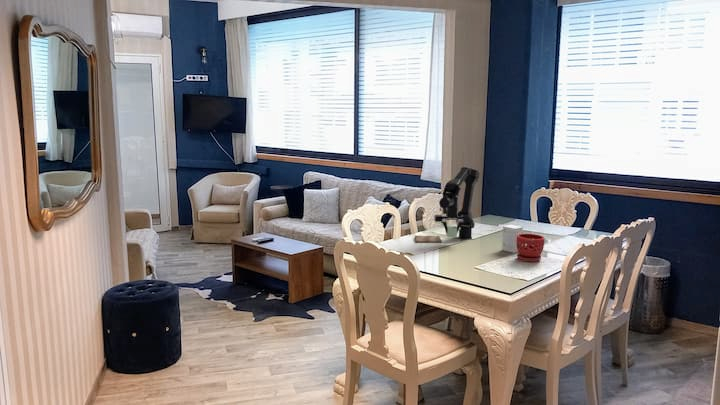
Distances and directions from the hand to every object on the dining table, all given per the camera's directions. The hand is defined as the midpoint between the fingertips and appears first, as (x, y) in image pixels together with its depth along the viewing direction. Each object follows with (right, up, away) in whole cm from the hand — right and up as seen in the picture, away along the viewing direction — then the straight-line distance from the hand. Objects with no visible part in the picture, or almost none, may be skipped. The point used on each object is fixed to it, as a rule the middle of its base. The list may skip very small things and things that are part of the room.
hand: (451, 233), depth 303 cm
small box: (+30, -9, -12) cm, 33 cm away
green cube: (0, -1, 0) cm, 1 cm away
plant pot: (+34, -11, -28) cm, 45 cm away
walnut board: (-12, -4, +12) cm, 17 cm away
